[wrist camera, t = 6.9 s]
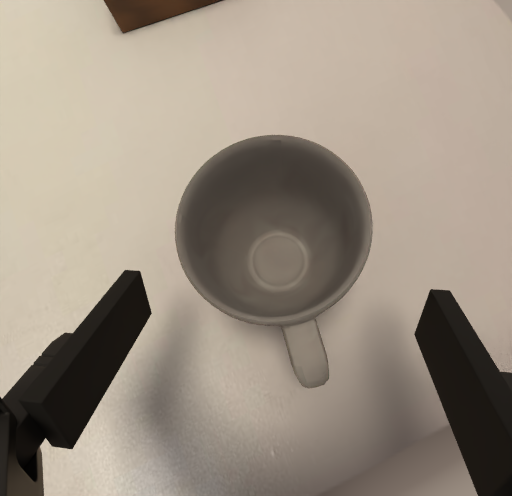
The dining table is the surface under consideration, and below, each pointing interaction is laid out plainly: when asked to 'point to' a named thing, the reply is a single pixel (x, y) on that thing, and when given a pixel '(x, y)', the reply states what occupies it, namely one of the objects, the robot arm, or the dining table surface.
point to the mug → (276, 238)
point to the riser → (149, 10)
